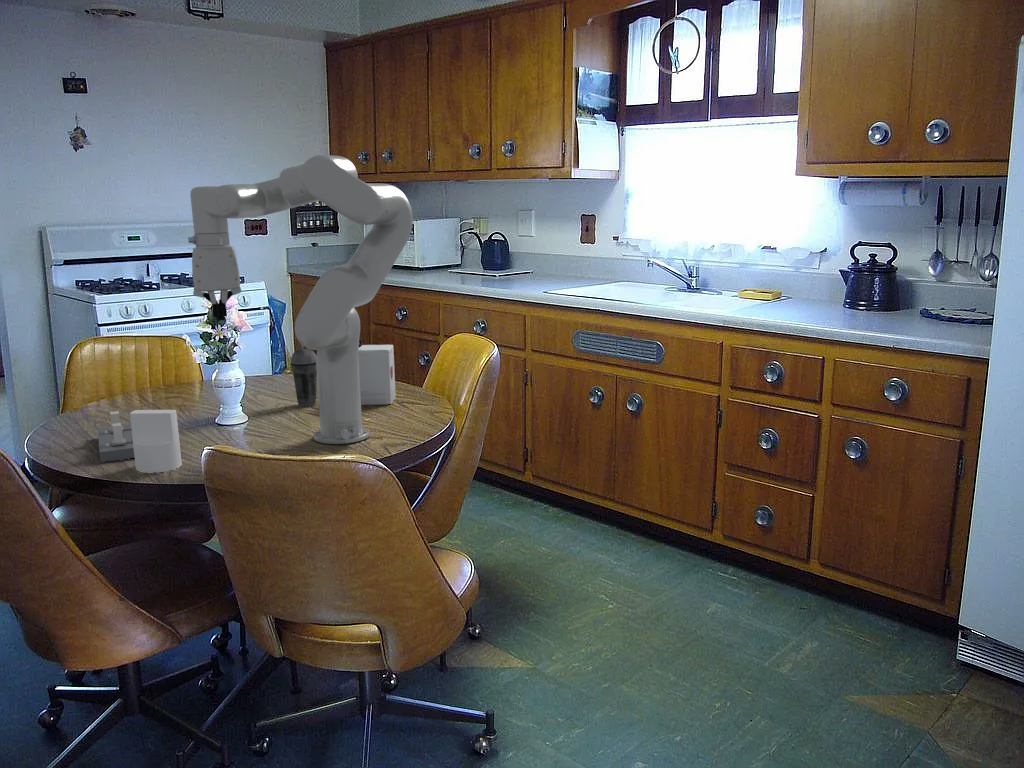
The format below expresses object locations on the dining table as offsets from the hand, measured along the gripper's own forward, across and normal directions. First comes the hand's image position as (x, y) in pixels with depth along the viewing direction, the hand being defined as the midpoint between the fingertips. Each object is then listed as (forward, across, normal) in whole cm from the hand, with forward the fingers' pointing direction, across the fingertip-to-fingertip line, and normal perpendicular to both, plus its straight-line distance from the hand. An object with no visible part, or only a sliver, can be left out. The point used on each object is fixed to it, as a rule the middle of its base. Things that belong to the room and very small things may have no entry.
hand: (220, 319), depth 210 cm
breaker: (+24, -25, -9) cm, 36 cm away
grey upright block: (+27, -18, -24) cm, 40 cm away
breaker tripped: (+24, -25, +3) cm, 35 cm away
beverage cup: (+27, +22, +16) cm, 38 cm away
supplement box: (+27, +40, +11) cm, 50 cm away
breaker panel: (+26, -21, -3) cm, 34 cm away
